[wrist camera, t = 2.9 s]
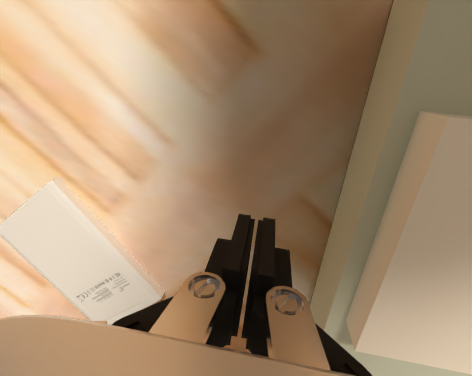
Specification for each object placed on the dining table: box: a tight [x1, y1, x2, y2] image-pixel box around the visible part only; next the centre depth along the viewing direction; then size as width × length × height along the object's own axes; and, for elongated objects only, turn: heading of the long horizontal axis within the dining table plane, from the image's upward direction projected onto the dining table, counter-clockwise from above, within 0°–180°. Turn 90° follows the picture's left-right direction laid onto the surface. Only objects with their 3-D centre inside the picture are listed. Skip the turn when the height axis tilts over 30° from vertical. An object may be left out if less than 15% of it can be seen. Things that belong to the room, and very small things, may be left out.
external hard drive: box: [0, 177, 165, 325], centre depth 22 cm, size 2×8×12 cm
